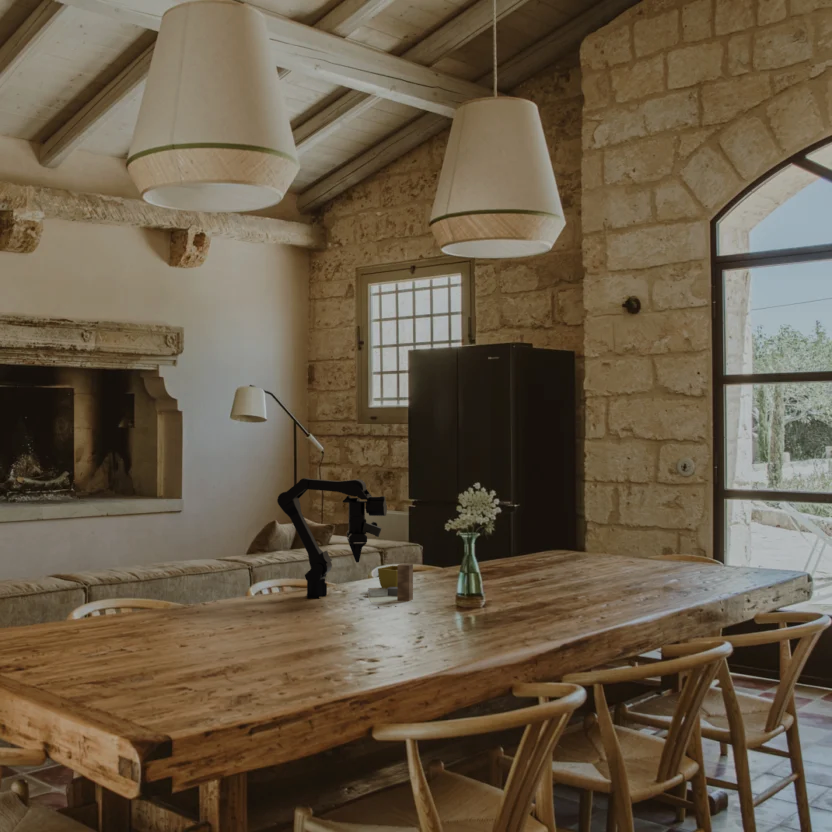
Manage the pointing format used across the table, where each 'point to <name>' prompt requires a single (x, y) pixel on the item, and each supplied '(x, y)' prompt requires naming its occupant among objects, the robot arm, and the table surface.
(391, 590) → the black rubber block
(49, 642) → the table surface
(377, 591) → the grey metal block
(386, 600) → the sage board
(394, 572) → the flower pot
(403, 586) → the walnut post
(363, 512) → the robot arm
